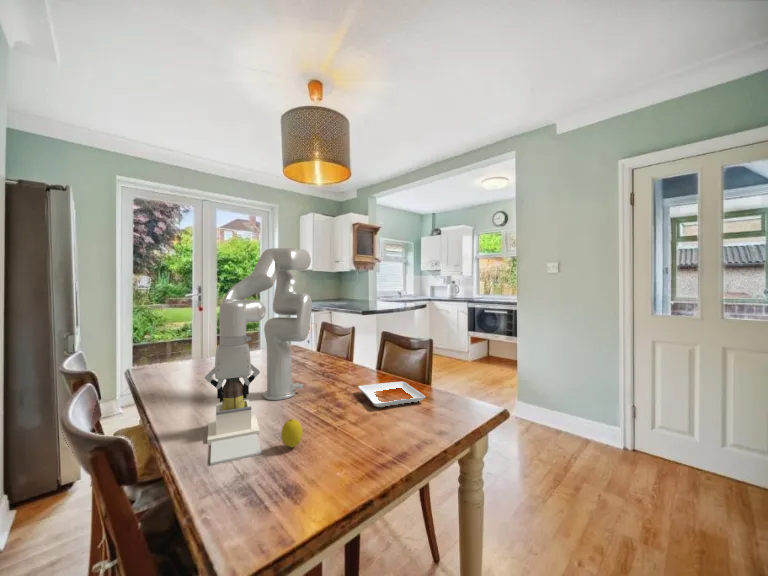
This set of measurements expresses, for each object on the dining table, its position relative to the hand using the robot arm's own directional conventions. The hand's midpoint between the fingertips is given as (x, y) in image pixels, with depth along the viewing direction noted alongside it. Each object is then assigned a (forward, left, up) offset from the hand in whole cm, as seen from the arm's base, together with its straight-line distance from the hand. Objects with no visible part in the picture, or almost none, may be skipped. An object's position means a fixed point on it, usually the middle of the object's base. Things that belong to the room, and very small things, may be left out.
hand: (233, 398), depth 103 cm
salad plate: (-57, -3, -10) cm, 58 cm away
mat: (0, +14, -10) cm, 17 cm away
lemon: (-14, +20, -10) cm, 26 cm away
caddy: (0, 0, -10) cm, 10 cm away
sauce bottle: (0, 0, -10) cm, 10 cm away
